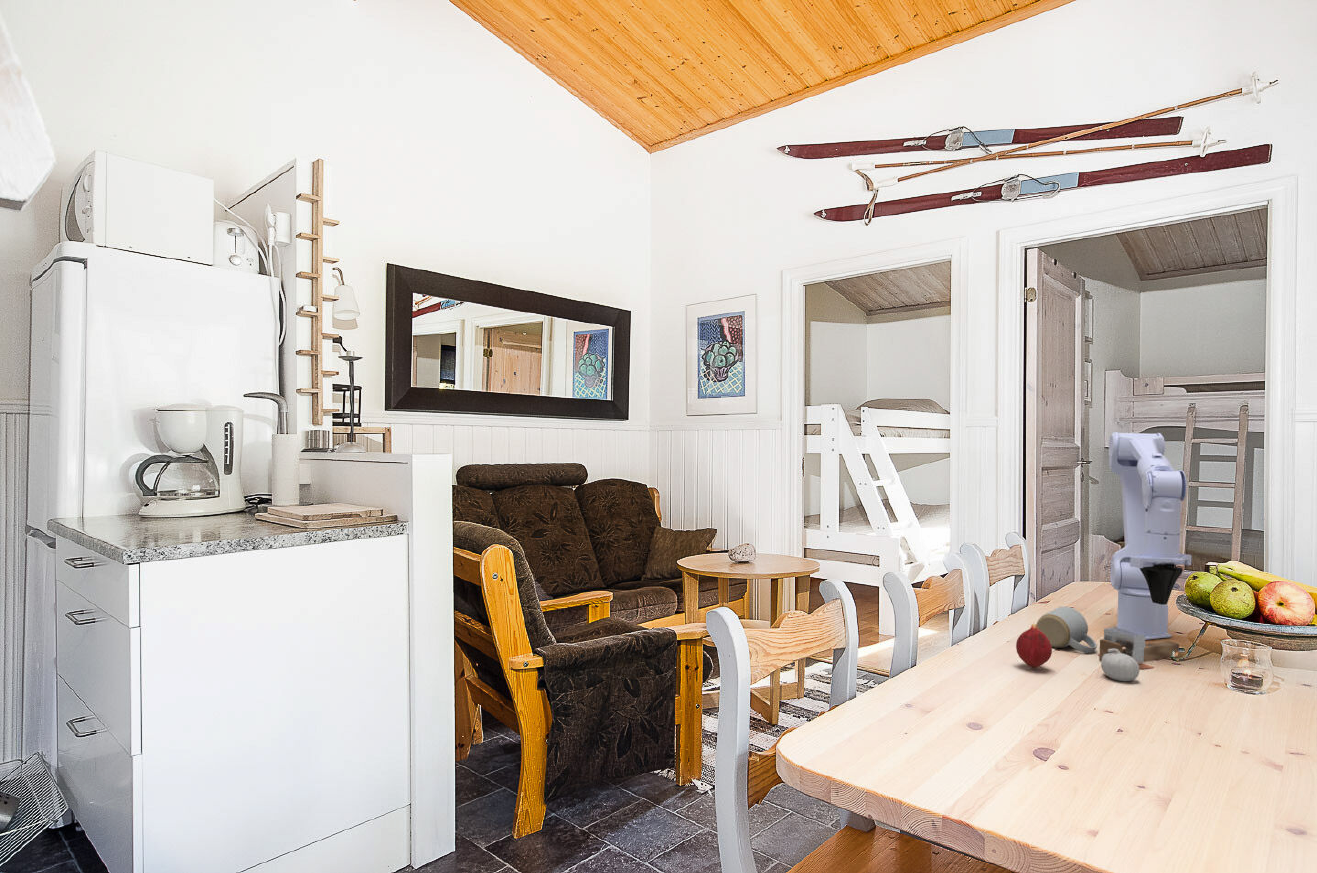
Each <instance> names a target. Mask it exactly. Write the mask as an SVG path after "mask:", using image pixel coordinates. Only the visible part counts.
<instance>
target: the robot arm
mask: <svg viewBox="0 0 1317 873" xmlns="http://www.w3.org/2000/svg"><path fill="white" fill-rule="evenodd" d="M1108 441H1109V442H1108V458H1109V467H1110V471H1111V472H1112V473H1113V474H1116V475H1118V477H1119V481H1120V485H1121V502H1122V518H1123V532H1124V533H1123V534H1124V537H1123V538H1124V547H1123V548H1121V549H1118V550H1117V551H1115V552H1114V553H1113V554H1112V556H1111V559H1110V571H1109V572H1110V573H1109V574H1110V575H1109V576H1110V584H1111V587H1113V589H1114V590H1117V591H1118V592H1117V613H1116V614H1117V619H1116V622H1117V623H1116V628H1120V629H1123V630H1127V631H1131V632H1134V633H1138V634H1142V635H1145V641H1146V640H1154V639H1165V638H1172V634H1170V633H1168V629H1169V628H1168V627H1169V626H1168V625H1169V605H1168V603H1169V600H1170V598H1171V594H1172V591H1173V589H1174V586H1175V585H1176V582H1177V581H1178V579H1179V578H1180V577H1181V575H1182V574H1183V568H1181V567H1177V566H1181V565H1183V566H1184V565H1185V566H1192V554H1186V553H1180V547H1181V546H1180V544H1181V543H1180V542H1181V525H1182V524H1181V521H1182V519H1181V517H1182V502H1184V501H1185V499H1186V495H1187V489H1188V488H1187V486H1188V485H1187V476H1186V474H1185V472H1184V470H1179V469H1178V470H1175V469H1174V466H1172V464H1171V463H1170V460H1169V459H1168V458H1167V457H1166V456H1165V450H1166V443H1165V438H1164V436H1163V435H1162V433H1161V432H1156V433H1143V432H1142V433H1141V432H1117V431H1113V433H1111V435H1110V436H1109V440H1108Z"/></svg>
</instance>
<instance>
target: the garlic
mask: <svg viewBox="0 0 1317 873" xmlns="http://www.w3.org/2000/svg"><path fill="white" fill-rule="evenodd" d="M1108 652H1117V653H1108V654H1105V655H1103V657H1102V661H1100V664H1101V665H1100V667H1101V670H1102V671H1103V673H1104V674H1105V675H1106V676H1107V677H1109V678H1110V679H1112V680H1114V681H1119V682H1131V681H1134V680H1136V679H1137V678H1138V677H1139V674H1140V669H1139V665H1138V663H1137V662H1136V661H1135V660H1134V659H1133V658H1132V657H1131V656H1128V655H1126V654H1122V653H1120V651H1119V650H1118V649H1108Z"/></svg>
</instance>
